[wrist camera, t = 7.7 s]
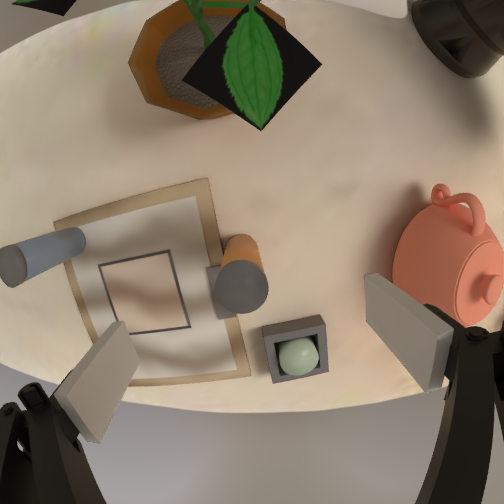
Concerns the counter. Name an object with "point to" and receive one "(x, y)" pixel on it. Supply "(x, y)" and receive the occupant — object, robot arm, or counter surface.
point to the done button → (297, 355)
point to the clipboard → (159, 284)
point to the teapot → (451, 258)
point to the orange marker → (241, 276)
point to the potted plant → (214, 58)
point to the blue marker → (39, 254)
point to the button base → (292, 331)
